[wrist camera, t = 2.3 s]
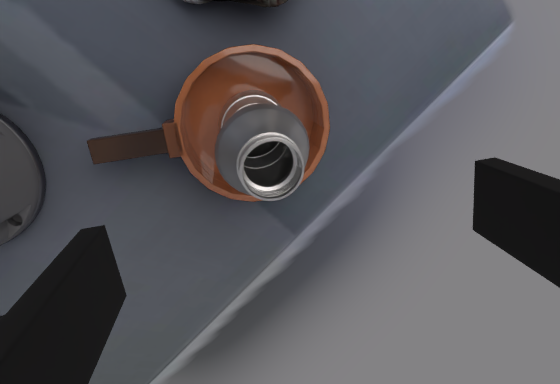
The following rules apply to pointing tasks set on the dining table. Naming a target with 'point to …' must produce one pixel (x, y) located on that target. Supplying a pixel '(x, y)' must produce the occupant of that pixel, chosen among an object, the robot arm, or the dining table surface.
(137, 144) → the pan handle
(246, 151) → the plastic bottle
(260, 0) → the lucky cat figurine
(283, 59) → the pan
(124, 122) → the dining table surface
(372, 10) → the dining table surface
